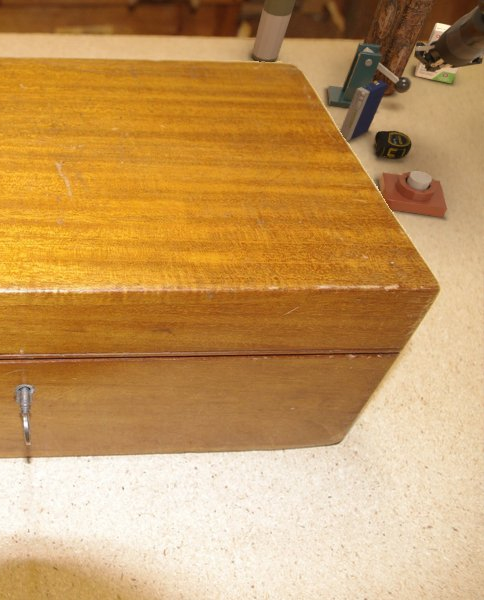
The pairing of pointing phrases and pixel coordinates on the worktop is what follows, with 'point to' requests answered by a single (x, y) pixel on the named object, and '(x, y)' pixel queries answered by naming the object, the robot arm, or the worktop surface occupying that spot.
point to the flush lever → (393, 77)
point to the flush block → (412, 195)
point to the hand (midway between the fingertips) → (430, 66)
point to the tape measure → (392, 144)
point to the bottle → (272, 29)
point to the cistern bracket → (356, 75)
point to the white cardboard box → (444, 73)
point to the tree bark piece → (396, 34)
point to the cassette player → (363, 109)
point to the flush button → (419, 180)
